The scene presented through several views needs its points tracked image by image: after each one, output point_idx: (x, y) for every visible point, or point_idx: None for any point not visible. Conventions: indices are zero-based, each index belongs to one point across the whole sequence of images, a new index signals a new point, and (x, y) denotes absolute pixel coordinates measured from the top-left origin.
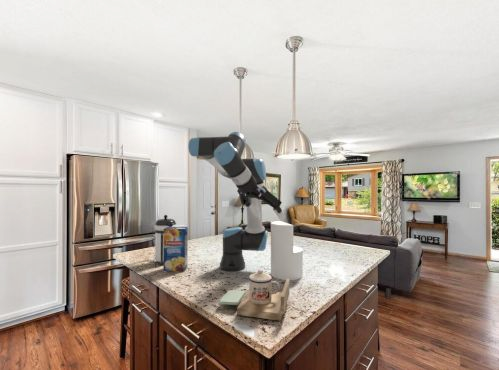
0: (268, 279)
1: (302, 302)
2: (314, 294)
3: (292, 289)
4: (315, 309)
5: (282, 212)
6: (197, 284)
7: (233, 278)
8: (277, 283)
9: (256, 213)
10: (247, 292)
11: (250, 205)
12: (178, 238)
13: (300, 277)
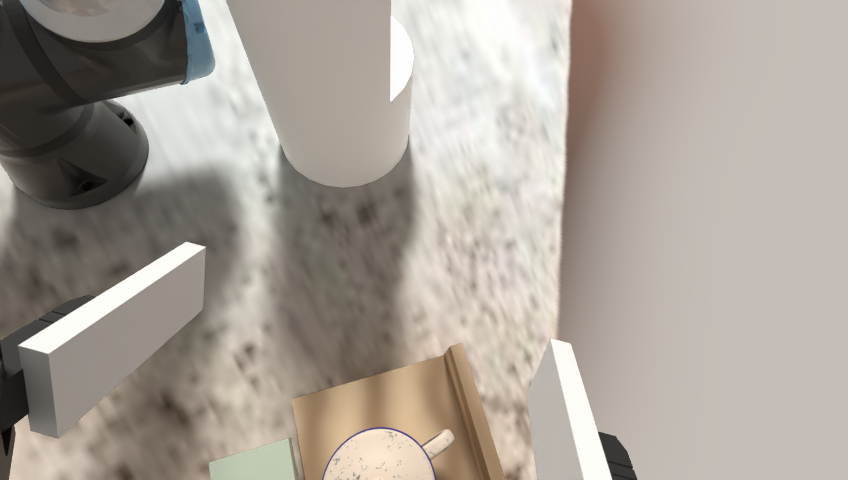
0: None
1: (494, 344)
2: (505, 260)
3: (421, 257)
4: None
5: (577, 377)
6: None
7: None
8: (449, 444)
9: (184, 302)
10: (298, 437)
11: (57, 407)
12: None
13: (407, 142)
